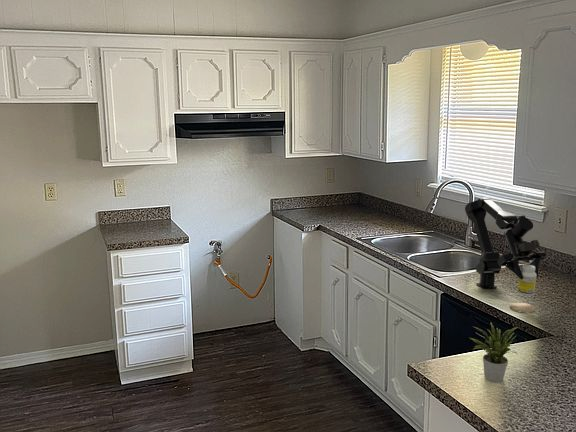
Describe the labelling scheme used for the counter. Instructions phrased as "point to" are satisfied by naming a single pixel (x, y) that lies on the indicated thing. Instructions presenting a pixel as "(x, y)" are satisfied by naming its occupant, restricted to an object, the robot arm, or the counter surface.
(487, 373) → the house plant
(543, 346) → the counter surface
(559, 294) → the counter surface
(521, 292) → the pill bottle
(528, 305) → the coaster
